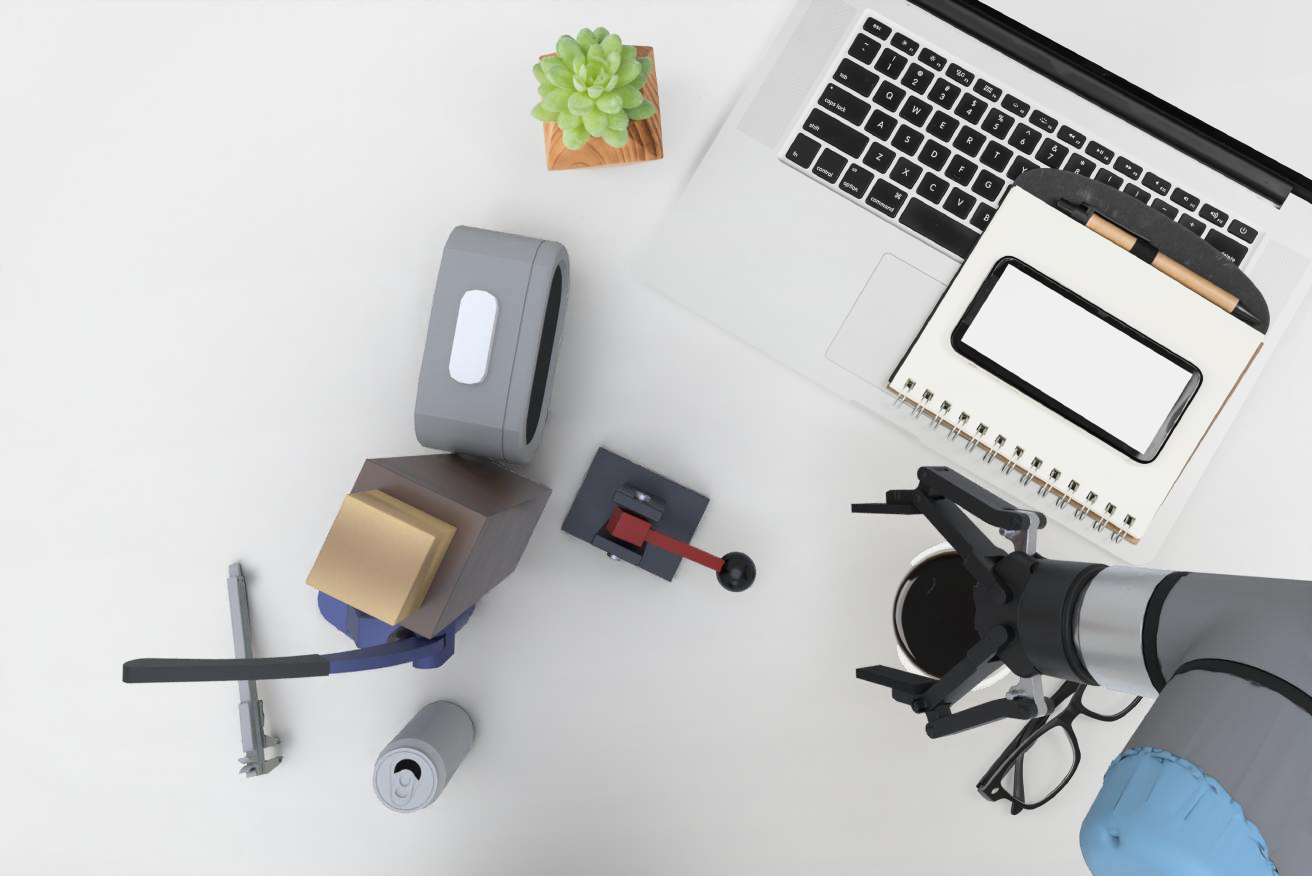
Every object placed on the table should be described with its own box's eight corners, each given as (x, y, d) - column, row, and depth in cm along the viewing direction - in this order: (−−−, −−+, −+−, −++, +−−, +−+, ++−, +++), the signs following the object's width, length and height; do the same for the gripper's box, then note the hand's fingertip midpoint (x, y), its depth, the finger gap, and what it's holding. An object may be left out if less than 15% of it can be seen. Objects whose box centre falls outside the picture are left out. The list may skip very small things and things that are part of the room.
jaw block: (419, 609, 55) (393, 626, 50) (338, 570, 55) (304, 583, 50) (457, 527, 55) (435, 536, 50) (376, 488, 55) (346, 493, 50)
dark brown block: (514, 571, 83) (430, 639, 55) (433, 532, 83) (308, 581, 55) (552, 490, 83) (488, 517, 55) (471, 451, 83) (366, 458, 55)
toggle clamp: (709, 498, 82) (715, 510, 68) (670, 580, 82) (669, 608, 68) (600, 446, 82) (585, 448, 69) (562, 528, 83) (538, 546, 69)
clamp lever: (753, 555, 76) (769, 566, 73) (736, 590, 76) (751, 603, 73) (618, 496, 72) (628, 505, 68) (600, 533, 72) (609, 544, 68)
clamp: (491, 557, 83) (396, 620, 55) (489, 645, 83) (392, 751, 55) (305, 551, 83) (117, 609, 55) (303, 637, 83) (113, 739, 55)
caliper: (285, 760, 83) (253, 786, 77) (274, 762, 83) (242, 788, 77) (241, 562, 83) (205, 572, 77) (230, 564, 83) (194, 575, 77)
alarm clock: (540, 464, 83) (513, 469, 69) (447, 446, 83) (402, 448, 69) (576, 261, 82) (556, 226, 69) (483, 244, 83) (445, 207, 69)
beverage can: (483, 709, 83) (450, 755, 71) (466, 770, 83) (430, 827, 71) (422, 691, 83) (379, 734, 71) (405, 753, 83) (359, 806, 71)
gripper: (1153, 820, 52) (903, 733, 71) (1135, 424, 53) (894, 441, 72) (1078, 847, 48) (835, 747, 67) (1060, 422, 50) (827, 440, 68)
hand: (865, 588), depth 69 cm, fingers open, 13 cm apart
